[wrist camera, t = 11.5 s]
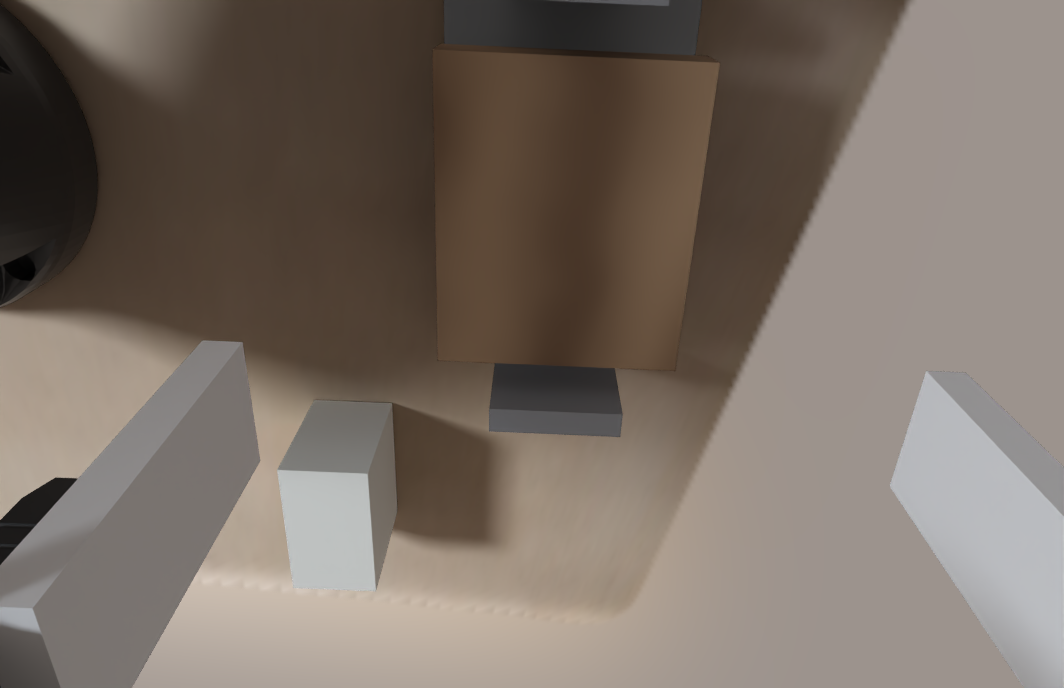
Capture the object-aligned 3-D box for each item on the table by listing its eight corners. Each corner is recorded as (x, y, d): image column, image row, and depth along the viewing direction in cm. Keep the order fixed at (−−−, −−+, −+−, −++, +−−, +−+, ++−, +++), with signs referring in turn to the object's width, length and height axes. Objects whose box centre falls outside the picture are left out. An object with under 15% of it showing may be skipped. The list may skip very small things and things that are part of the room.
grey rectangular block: (325, 507, 42) (293, 587, 36) (314, 400, 39) (277, 469, 33) (397, 511, 42) (376, 591, 36) (392, 403, 39) (367, 473, 33)
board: (444, 337, 30) (437, 360, 28) (440, 43, 25) (432, 49, 23) (667, 346, 30) (675, 370, 28) (707, 56, 25) (720, 62, 23)
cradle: (449, 336, 37) (423, 439, 29) (446, -57, 29) (409, -65, 21) (653, 344, 37) (683, 450, 29) (703, -45, 29) (763, -48, 21)
